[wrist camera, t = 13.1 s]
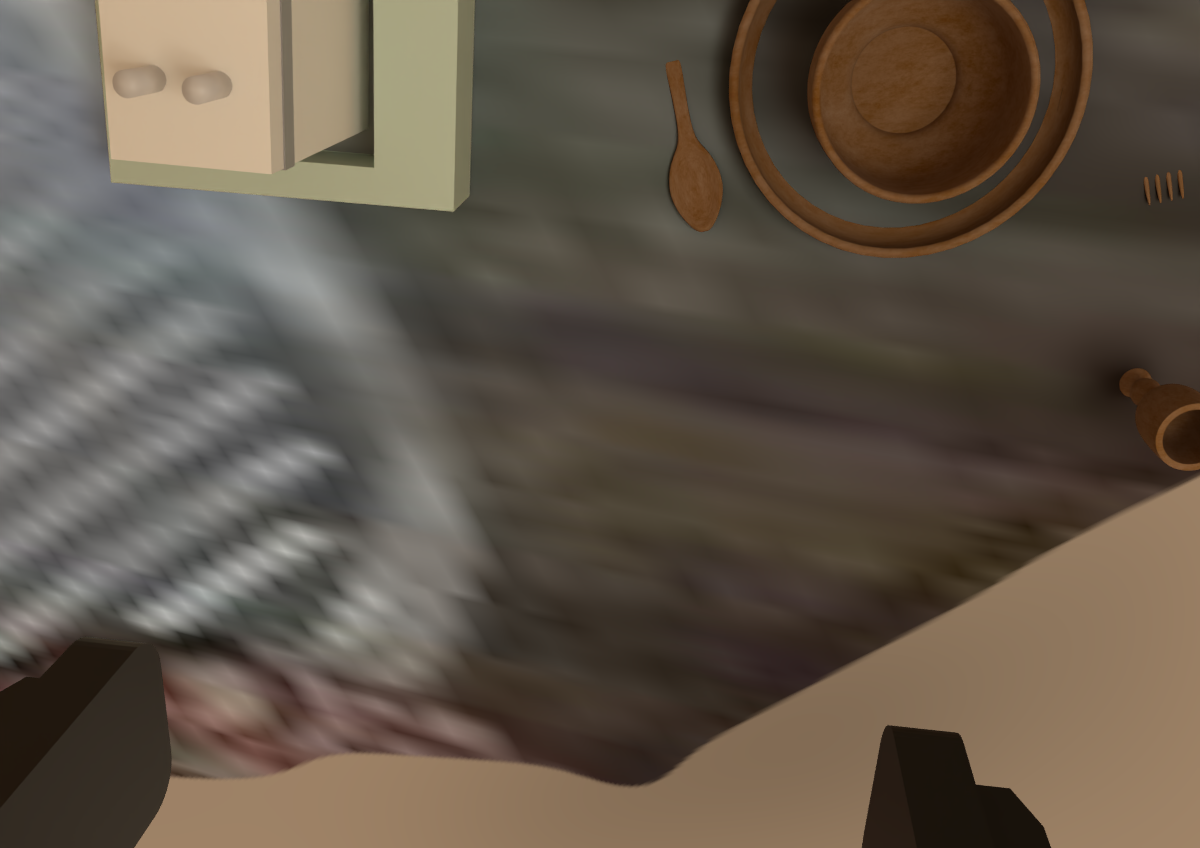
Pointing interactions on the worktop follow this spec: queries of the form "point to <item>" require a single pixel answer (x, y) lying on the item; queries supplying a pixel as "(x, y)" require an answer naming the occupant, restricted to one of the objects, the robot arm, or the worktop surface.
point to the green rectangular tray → (374, 122)
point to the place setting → (927, 139)
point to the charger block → (233, 80)
